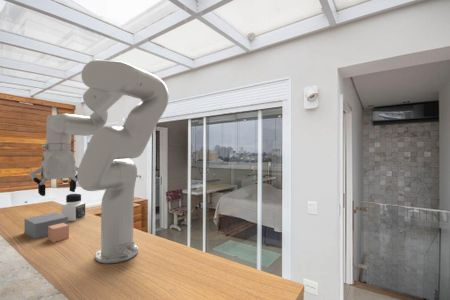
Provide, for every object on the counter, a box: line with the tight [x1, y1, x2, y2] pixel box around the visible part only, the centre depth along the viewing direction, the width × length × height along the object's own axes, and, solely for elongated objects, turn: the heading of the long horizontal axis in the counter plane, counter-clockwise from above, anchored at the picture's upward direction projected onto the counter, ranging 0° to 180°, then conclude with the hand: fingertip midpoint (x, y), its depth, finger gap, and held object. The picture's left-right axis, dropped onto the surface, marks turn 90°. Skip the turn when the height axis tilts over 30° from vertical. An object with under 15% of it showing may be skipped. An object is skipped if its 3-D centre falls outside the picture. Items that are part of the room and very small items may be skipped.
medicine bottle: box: [60, 192, 86, 222], centre depth 111 cm, size 7×7×12 cm
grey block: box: [24, 212, 69, 240], centre depth 94 cm, size 11×11×6 cm
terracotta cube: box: [47, 223, 70, 243], centre depth 87 cm, size 5×5×5 cm
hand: (58, 193), depth 87 cm, fingers open, 9 cm apart
